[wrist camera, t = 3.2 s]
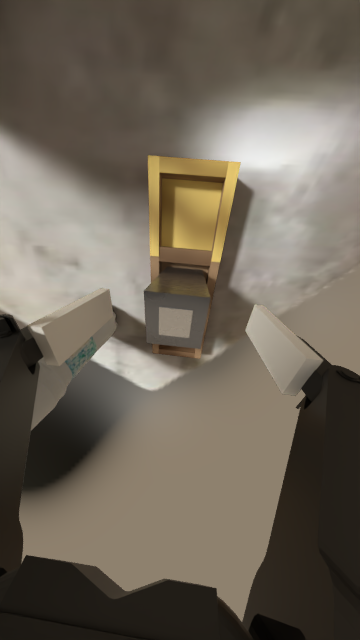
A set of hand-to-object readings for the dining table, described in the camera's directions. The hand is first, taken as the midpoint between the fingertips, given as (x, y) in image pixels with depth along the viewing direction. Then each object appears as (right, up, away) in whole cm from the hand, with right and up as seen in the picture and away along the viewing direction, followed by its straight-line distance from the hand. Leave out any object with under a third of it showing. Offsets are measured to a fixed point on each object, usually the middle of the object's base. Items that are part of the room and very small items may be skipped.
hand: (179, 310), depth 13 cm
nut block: (0, +4, +6) cm, 7 cm away
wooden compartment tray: (+1, +4, +7) cm, 8 cm away
